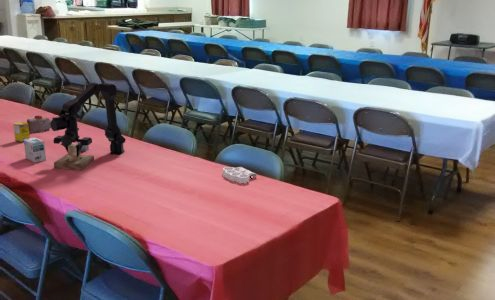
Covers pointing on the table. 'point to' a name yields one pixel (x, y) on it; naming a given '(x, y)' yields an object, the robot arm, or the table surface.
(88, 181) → the table surface
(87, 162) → the walnut sleeve block
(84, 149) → the metal stub
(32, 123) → the grey box with knob
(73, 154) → the maple pin
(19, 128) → the supplement box
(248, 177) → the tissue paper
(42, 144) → the light bulb box
